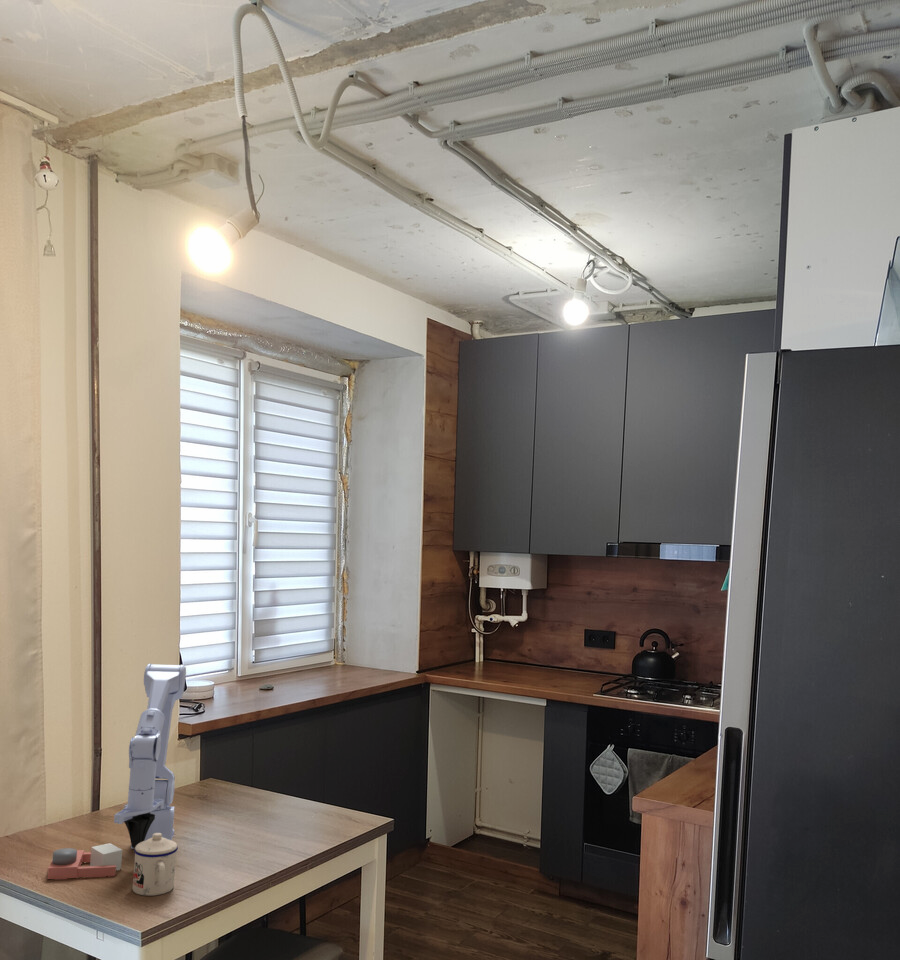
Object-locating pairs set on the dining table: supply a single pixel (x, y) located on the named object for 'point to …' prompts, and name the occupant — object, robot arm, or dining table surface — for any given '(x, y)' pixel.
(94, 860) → the white rectangular block
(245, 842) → the dining table surface
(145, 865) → the teacup with lid
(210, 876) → the dining table surface
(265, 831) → the dining table surface
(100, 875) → the pink u-shaped block
